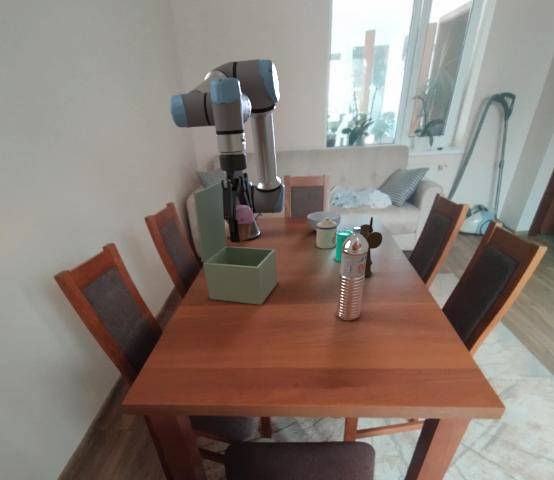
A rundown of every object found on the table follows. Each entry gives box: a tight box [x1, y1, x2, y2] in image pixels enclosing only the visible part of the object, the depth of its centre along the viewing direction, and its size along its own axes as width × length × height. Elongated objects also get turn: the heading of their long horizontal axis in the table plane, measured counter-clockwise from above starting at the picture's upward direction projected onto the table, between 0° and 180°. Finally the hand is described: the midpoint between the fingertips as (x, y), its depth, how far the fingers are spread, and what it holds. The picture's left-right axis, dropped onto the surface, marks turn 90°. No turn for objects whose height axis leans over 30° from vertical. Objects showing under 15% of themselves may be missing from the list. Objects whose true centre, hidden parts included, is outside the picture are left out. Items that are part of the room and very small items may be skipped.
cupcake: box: [225, 205, 255, 242], centre depth 102 cm, size 9×9×10 cm
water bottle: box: [336, 226, 369, 322], centre depth 90 cm, size 7×7×25 cm
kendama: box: [359, 216, 383, 278], centre depth 114 cm, size 6×10×20 cm, turn 10°
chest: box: [202, 245, 278, 306], centre depth 111 cm, size 19×17×12 cm
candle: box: [334, 229, 353, 263], centre depth 130 cm, size 6×6×12 cm
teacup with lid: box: [315, 218, 338, 250], centre depth 145 cm, size 12×9×12 cm
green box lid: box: [193, 181, 227, 263], centre depth 103 cm, size 20×17×1 cm
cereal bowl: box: [306, 210, 342, 232], centre depth 164 cm, size 17×17×7 cm
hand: (241, 237), depth 104 cm, fingers closed on cupcake, 9 cm apart
